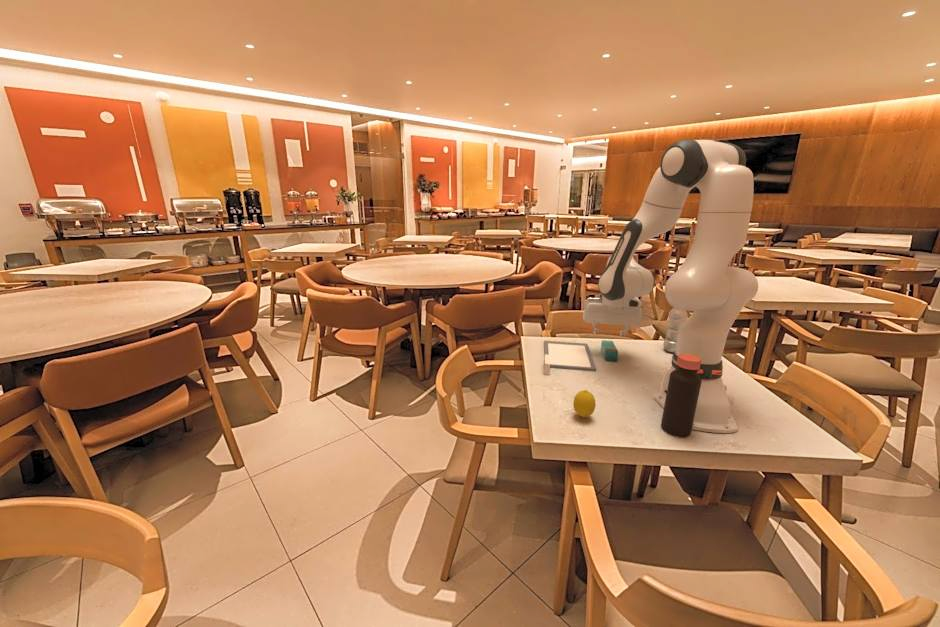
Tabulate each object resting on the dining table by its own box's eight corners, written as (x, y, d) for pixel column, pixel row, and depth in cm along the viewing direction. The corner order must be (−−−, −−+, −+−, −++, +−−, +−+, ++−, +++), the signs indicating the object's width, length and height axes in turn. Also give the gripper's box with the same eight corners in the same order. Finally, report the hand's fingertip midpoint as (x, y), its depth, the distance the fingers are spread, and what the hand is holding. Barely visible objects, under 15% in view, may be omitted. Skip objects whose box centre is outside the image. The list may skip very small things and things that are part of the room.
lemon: (570, 411, 103) (572, 385, 101) (590, 411, 103) (593, 385, 100) (574, 422, 98) (577, 395, 95) (596, 423, 98) (599, 395, 95)
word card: (549, 375, 124) (550, 364, 123) (544, 374, 124) (545, 363, 123) (548, 365, 132) (549, 354, 131) (543, 364, 132) (544, 354, 131)
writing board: (595, 371, 127) (596, 368, 127) (544, 367, 130) (545, 364, 130) (587, 345, 150) (587, 343, 150) (543, 342, 153) (544, 340, 152)
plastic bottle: (664, 353, 143) (672, 302, 137) (660, 347, 149) (669, 298, 143) (682, 355, 141) (692, 304, 135) (679, 349, 147) (688, 299, 141)
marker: (616, 362, 135) (618, 351, 134) (605, 361, 136) (606, 350, 134) (610, 348, 147) (611, 339, 146) (599, 347, 148) (601, 338, 147)
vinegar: (660, 433, 94) (673, 359, 88) (660, 420, 100) (673, 350, 94) (691, 441, 91) (707, 365, 85) (690, 426, 97) (704, 355, 91)
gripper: (585, 299, 133) (581, 335, 137) (646, 303, 130) (640, 340, 134) (583, 294, 139) (579, 329, 143) (641, 298, 136) (635, 333, 140)
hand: (609, 334), depth 139 cm, fingers open, 8 cm apart
